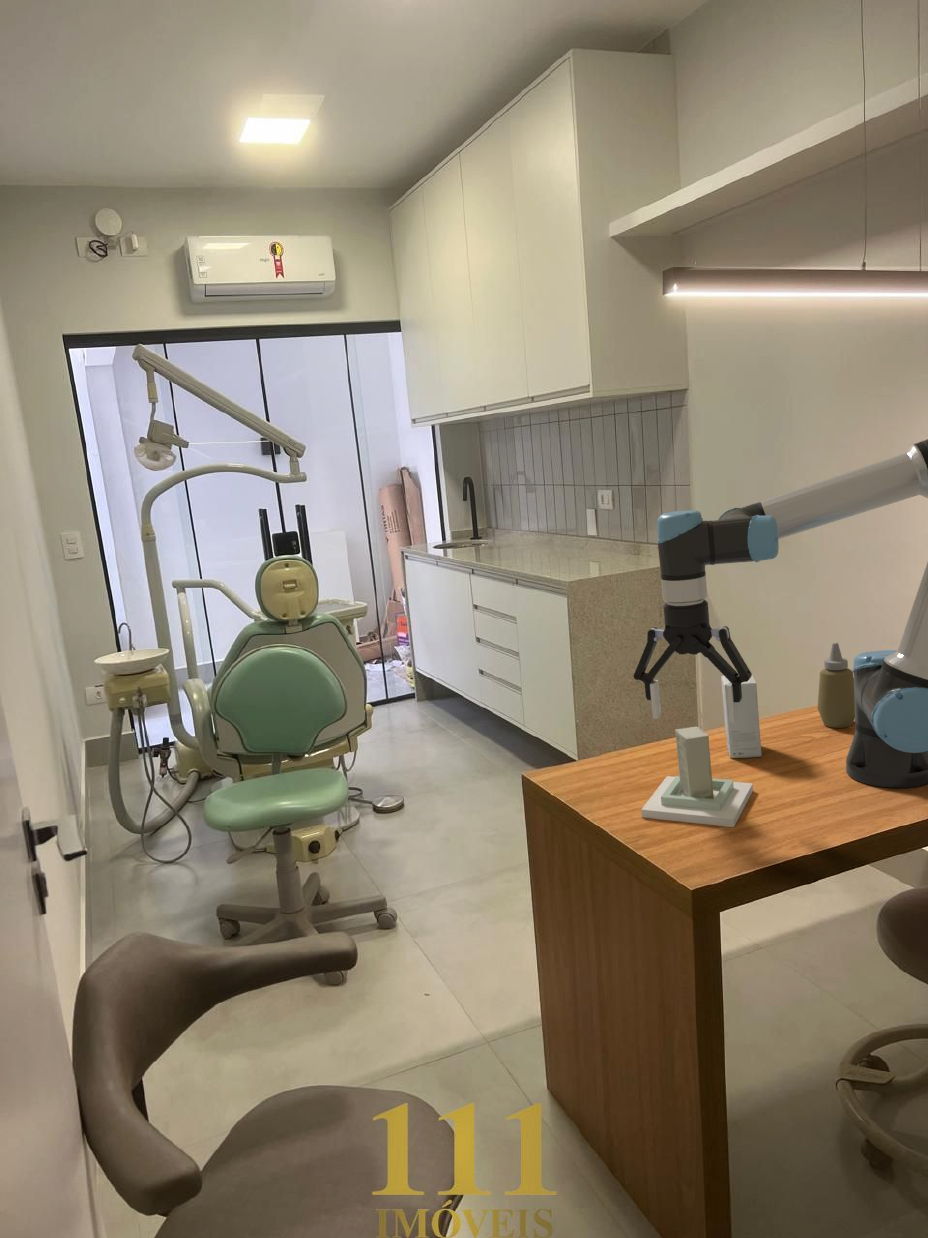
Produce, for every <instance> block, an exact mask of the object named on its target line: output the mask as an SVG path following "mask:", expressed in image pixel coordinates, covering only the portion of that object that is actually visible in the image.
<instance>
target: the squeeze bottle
mask: <svg viewBox="0 0 928 1238" xmlns="http://www.w3.org/2000/svg"><path fill="white" fill-rule="evenodd" d="M839 645H840V644H839V643H838V642H834V643H832V644H831V647H830V648H831V649H830V655H829V658H826V659H824V662H823V664H824V665H823V666H824V668H823V669H822V670H821V671H820V672H819V681H818V683H819V684H818V685H819V686H818V696H817V697H818V698H817V711H818V713H819V715H820V716H819V717H820V718H821V721H822V723H823V725H824V726H826V727H828V728H834V729H835V728H836V729H839V728H840V729H841V728H843V729H845V728H848V727H851V726H853V724H854V723H855V701H854V673H853V671H852V669H850V668H849V660H848V659H847V658H845V657H844V658H843V656H842V653H841V649H840V646H839Z"/></svg>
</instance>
